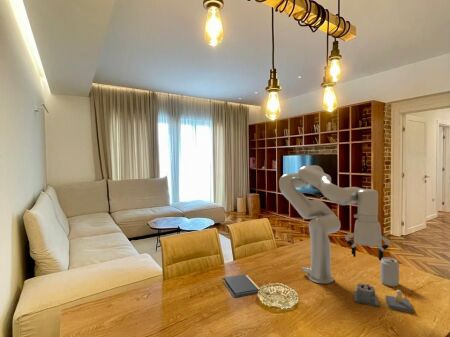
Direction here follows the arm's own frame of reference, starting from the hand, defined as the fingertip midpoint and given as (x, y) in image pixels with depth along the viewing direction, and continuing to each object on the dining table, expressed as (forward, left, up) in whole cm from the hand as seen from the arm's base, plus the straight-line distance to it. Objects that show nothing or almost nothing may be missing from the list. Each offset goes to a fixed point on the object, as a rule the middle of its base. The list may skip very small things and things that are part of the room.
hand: (366, 257), depth 109 cm
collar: (0, 0, -18) cm, 18 cm away
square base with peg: (+12, 0, -18) cm, 22 cm away
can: (+12, +20, -19) cm, 29 cm away
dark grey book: (-54, -9, -19) cm, 58 cm away
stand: (0, 0, -18) cm, 18 cm away
